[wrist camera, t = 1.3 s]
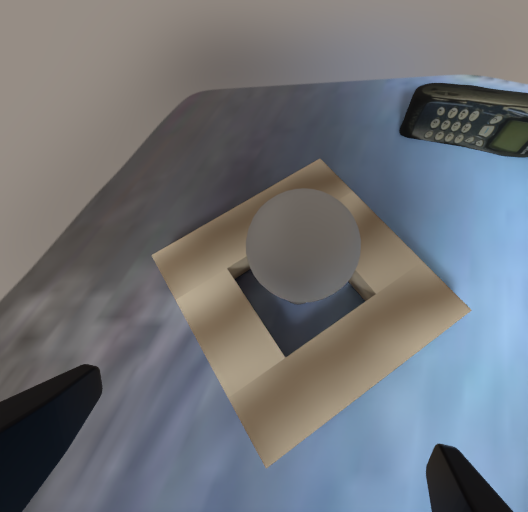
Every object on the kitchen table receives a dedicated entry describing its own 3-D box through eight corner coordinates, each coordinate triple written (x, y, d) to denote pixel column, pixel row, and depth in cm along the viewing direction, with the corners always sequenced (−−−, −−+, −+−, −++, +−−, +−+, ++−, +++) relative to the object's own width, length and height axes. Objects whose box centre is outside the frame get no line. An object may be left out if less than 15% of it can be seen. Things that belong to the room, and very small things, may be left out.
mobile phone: (413, 97, 25) (629, 122, 22) (417, 74, 26) (623, 95, 23) (396, 143, 30) (573, 169, 27) (400, 121, 31) (570, 144, 28)
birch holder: (452, 319, 22) (471, 310, 20) (268, 460, 19) (266, 468, 17) (317, 177, 28) (320, 158, 26) (163, 268, 25) (151, 255, 23)
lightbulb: (269, 249, 25) (257, 154, 15) (343, 264, 24) (381, 173, 14) (249, 320, 23) (220, 261, 13) (330, 340, 22) (365, 293, 12)
